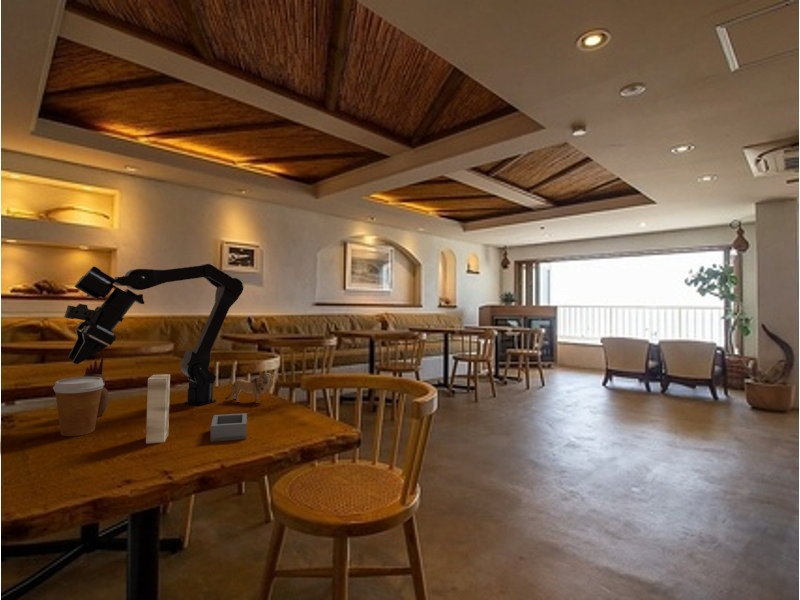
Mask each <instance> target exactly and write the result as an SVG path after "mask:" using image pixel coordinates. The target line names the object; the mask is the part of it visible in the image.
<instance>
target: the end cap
mask: <svg viewBox="0 0 800 600" xmlns="http://www.w3.org/2000/svg"><path fill="white" fill-rule="evenodd" d="M247 425H248V413H245V412H244V413H230V414H229V413H227V414H214V415H213V417H212V420H211V423H210V441H209V442H222V441H223V442H224V441H235V440H236V441H237V440H240V441H241V440H247V432H248V431H247V427H248V426H247Z"/></svg>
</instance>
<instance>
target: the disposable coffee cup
mask: <svg viewBox="0 0 800 600" xmlns="http://www.w3.org/2000/svg"><path fill="white" fill-rule="evenodd" d="M104 386H105V382H104V383H103V380H102V378H100V377H83V376H77V377H67V378H62V379H59V380H56V381H55V384H54V386H52V390H53V391H54V392H55V398H56V406H57V407H56V408H57V415H58V422H59V424H58V425H59V430H60V431H59V432H60V435H61V436H63V437H75V436H83V435H87V434H91V433H93V432H95V430H96V423H97V419H98V417H97V414H98V408H99V402H100V397H101V391H102V388H103V387H104Z"/></svg>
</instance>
